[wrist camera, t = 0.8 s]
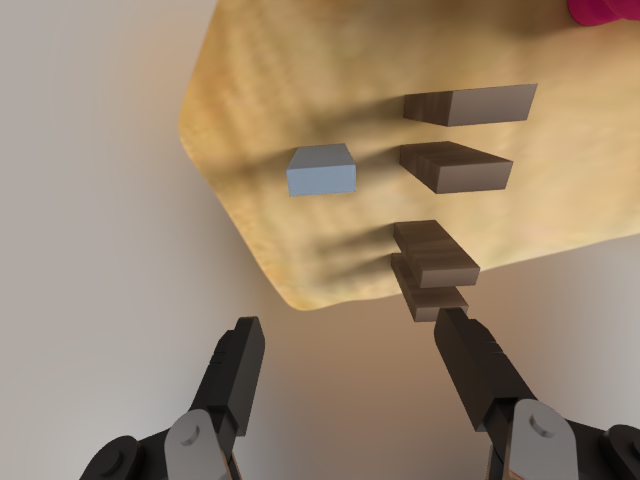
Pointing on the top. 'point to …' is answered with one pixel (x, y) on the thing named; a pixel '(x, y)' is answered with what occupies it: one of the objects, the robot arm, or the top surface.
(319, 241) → the top surface
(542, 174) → the top surface
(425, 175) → the domino
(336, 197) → the top surface
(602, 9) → the pepper mill
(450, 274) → the domino
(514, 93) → the domino
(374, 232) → the top surface
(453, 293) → the domino
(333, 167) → the domino
